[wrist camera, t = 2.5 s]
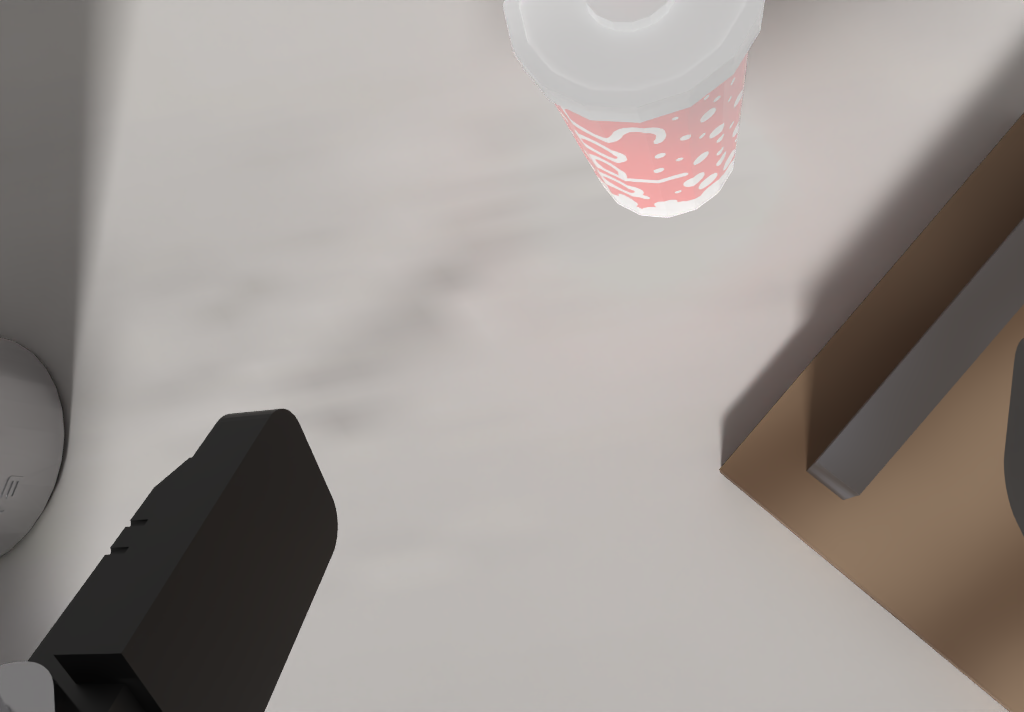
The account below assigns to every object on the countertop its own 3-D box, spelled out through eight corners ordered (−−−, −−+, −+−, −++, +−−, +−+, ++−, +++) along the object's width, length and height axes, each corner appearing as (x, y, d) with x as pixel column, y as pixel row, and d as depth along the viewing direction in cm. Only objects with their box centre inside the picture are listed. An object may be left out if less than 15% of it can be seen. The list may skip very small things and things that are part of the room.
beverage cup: (537, 167, 29) (365, -140, 16) (659, 34, 29) (587, -390, 16) (671, 277, 27) (602, 31, 14) (802, 135, 27) (861, -253, 14)
